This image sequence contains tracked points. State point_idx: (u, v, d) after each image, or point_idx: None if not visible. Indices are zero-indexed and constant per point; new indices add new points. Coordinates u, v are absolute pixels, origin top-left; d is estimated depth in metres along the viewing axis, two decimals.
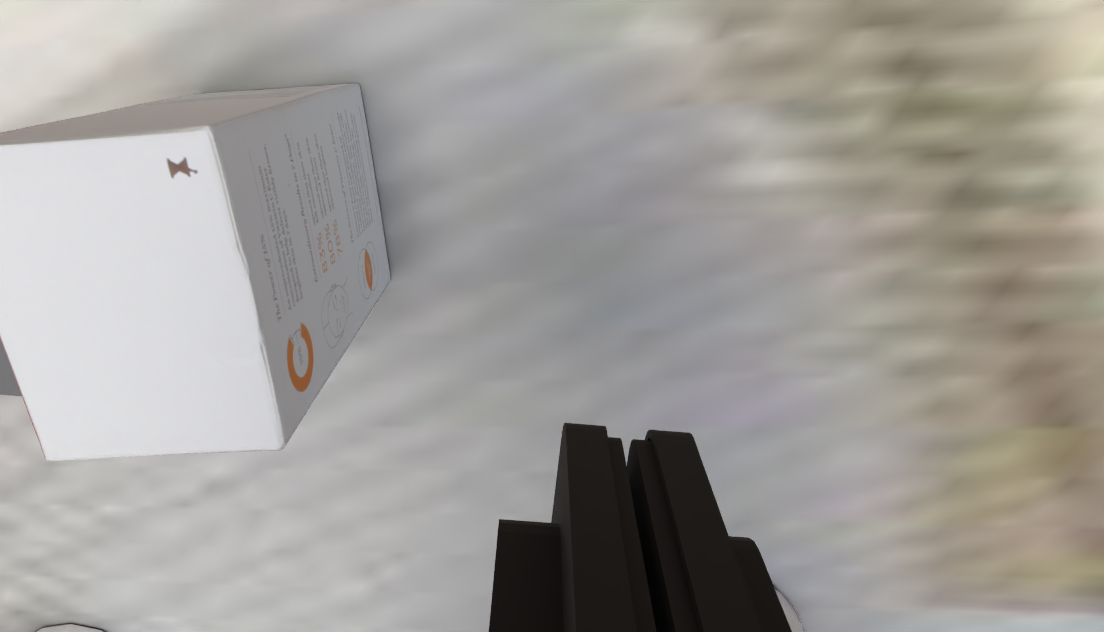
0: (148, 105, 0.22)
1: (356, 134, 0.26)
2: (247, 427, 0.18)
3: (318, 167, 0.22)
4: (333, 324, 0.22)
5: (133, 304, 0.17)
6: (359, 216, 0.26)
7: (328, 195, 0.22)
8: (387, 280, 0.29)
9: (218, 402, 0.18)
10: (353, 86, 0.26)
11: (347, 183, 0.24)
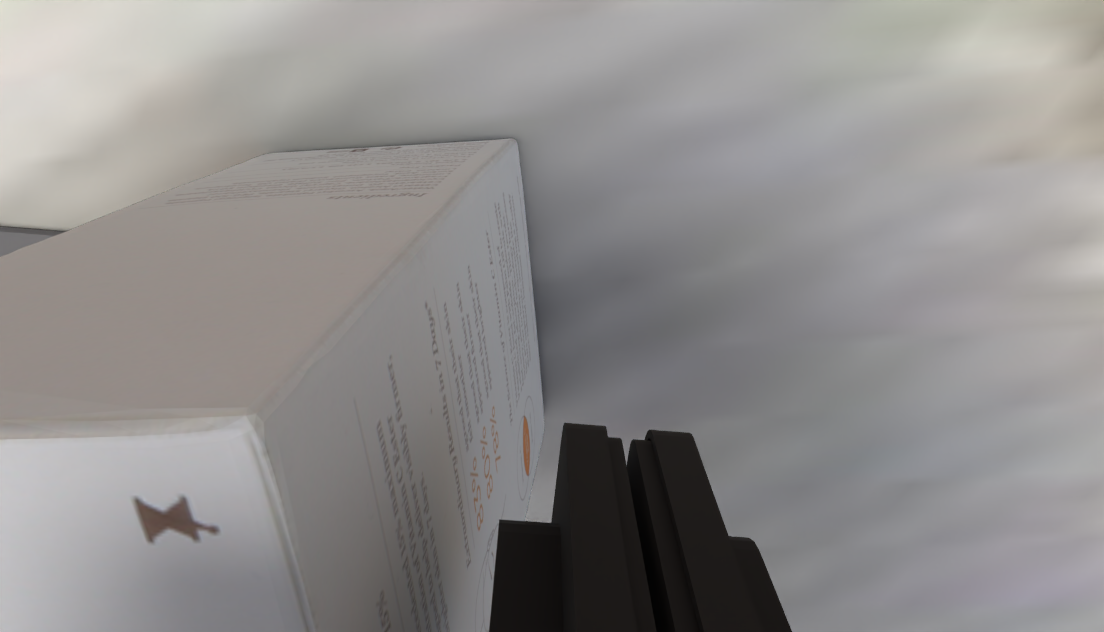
0: (172, 204, 0.12)
1: (514, 227, 0.16)
2: None
3: (473, 327, 0.12)
4: (489, 612, 0.12)
5: None
6: (518, 366, 0.15)
7: (484, 371, 0.12)
8: (542, 435, 0.19)
9: None
10: (510, 146, 0.16)
11: (506, 323, 0.14)
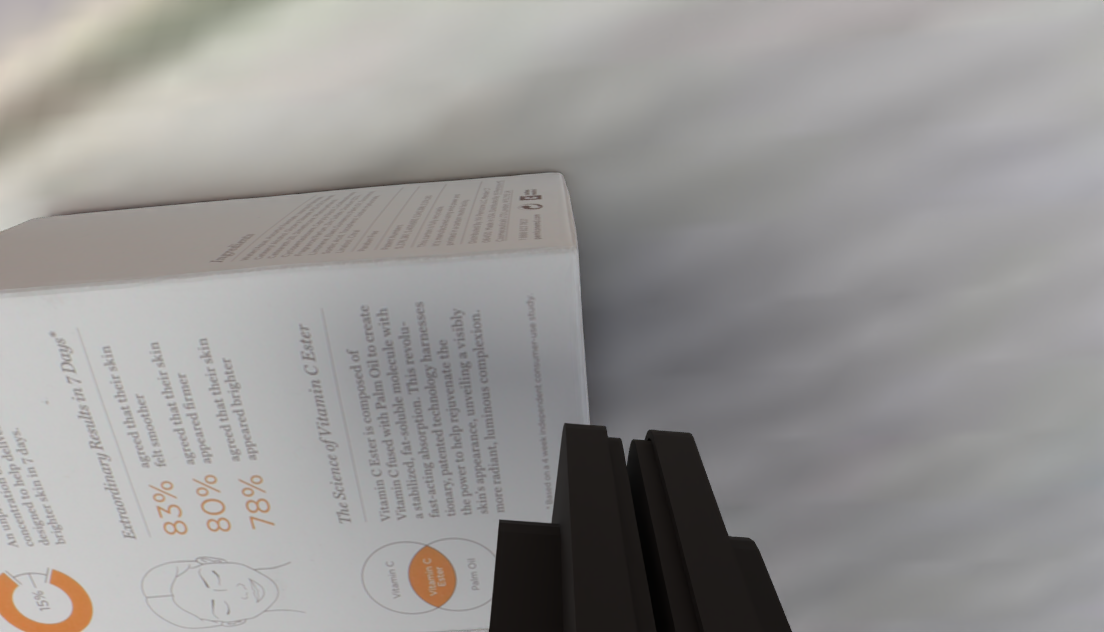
0: (312, 199, 0.16)
1: (470, 350, 0.12)
2: None
3: (200, 391, 0.12)
4: (192, 602, 0.14)
5: None
6: (410, 489, 0.13)
7: (231, 437, 0.13)
8: None
9: None
10: (523, 255, 0.12)
11: (356, 430, 0.13)
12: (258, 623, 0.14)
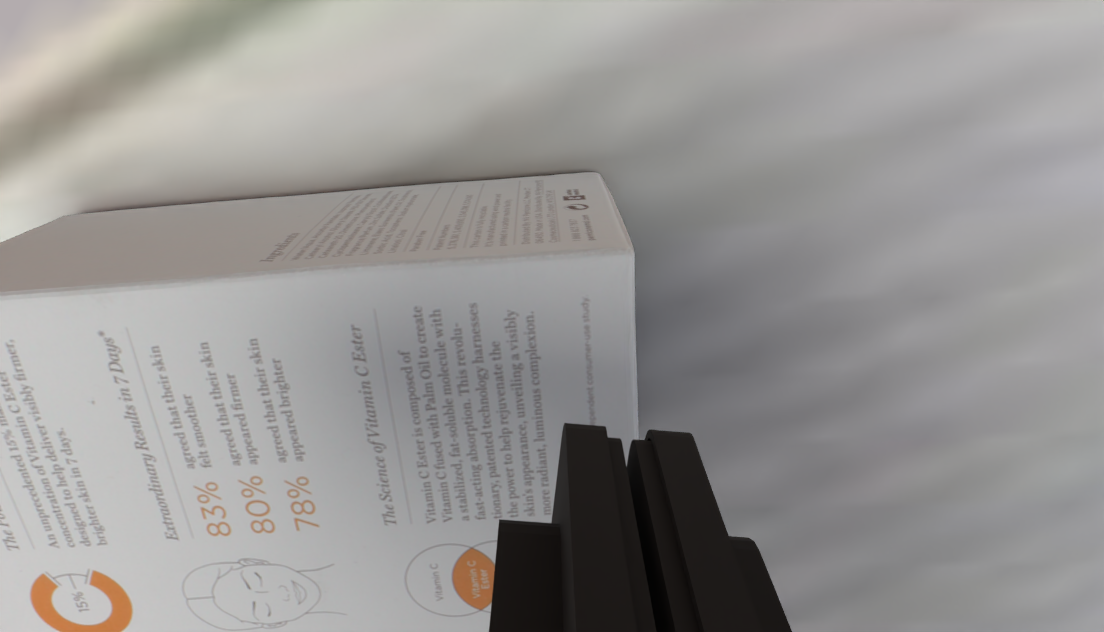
0: (350, 197, 0.16)
1: (522, 352, 0.12)
2: None
3: (248, 391, 0.12)
4: (233, 604, 0.14)
5: None
6: (457, 491, 0.13)
7: (278, 438, 0.13)
8: None
9: None
10: (580, 256, 0.11)
11: (405, 432, 0.13)
12: (299, 625, 0.14)
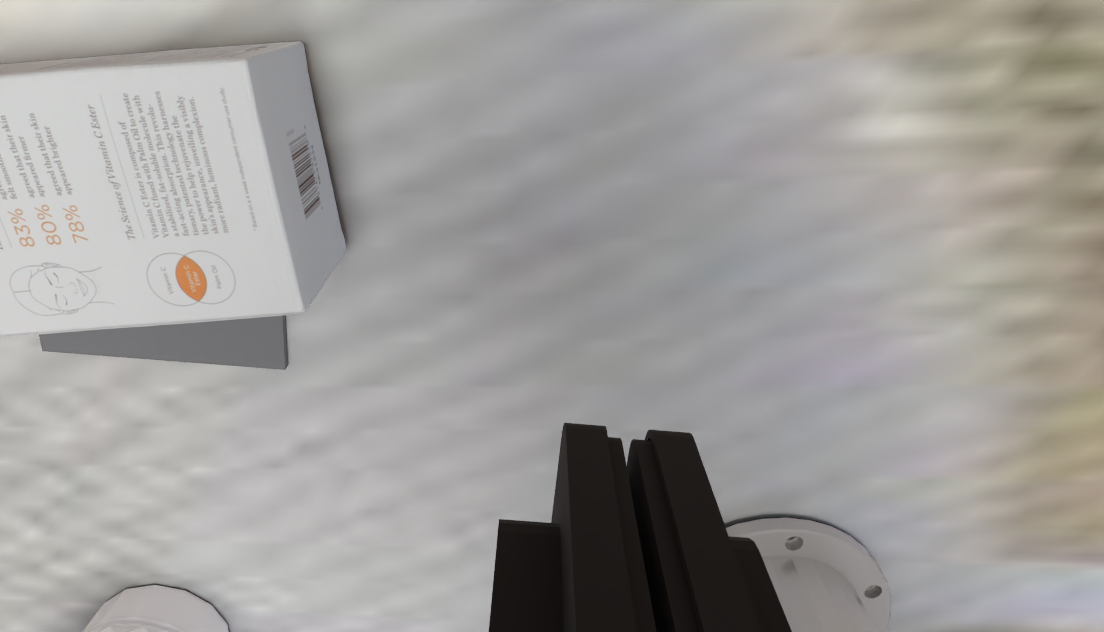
0: None
1: (191, 122, 0.21)
2: None
3: (32, 147, 0.21)
4: (43, 296, 0.23)
5: None
6: (168, 216, 0.22)
7: (55, 179, 0.21)
8: (279, 309, 0.23)
9: None
10: (214, 62, 0.20)
11: (130, 175, 0.21)
12: (86, 311, 0.23)
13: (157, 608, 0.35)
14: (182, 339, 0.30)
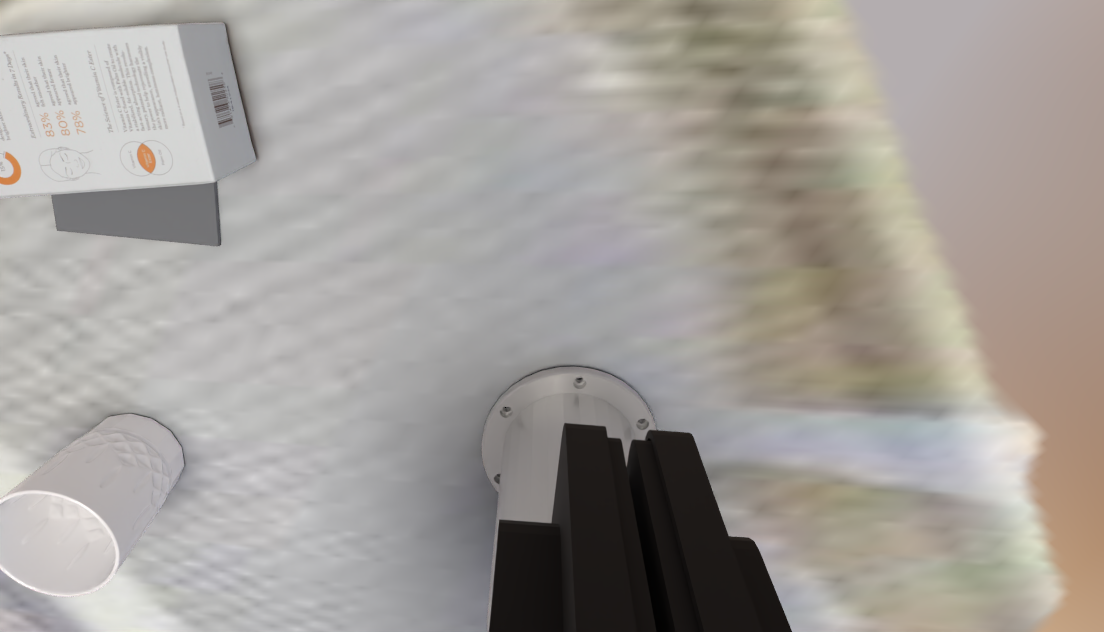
0: None
1: (145, 61, 0.36)
2: None
3: (55, 75, 0.36)
4: (58, 168, 0.38)
5: None
6: (132, 118, 0.37)
7: (67, 94, 0.37)
8: (199, 178, 0.38)
9: None
10: (159, 26, 0.35)
11: (110, 92, 0.37)
12: (83, 179, 0.38)
13: (131, 425, 0.50)
14: (149, 223, 0.46)
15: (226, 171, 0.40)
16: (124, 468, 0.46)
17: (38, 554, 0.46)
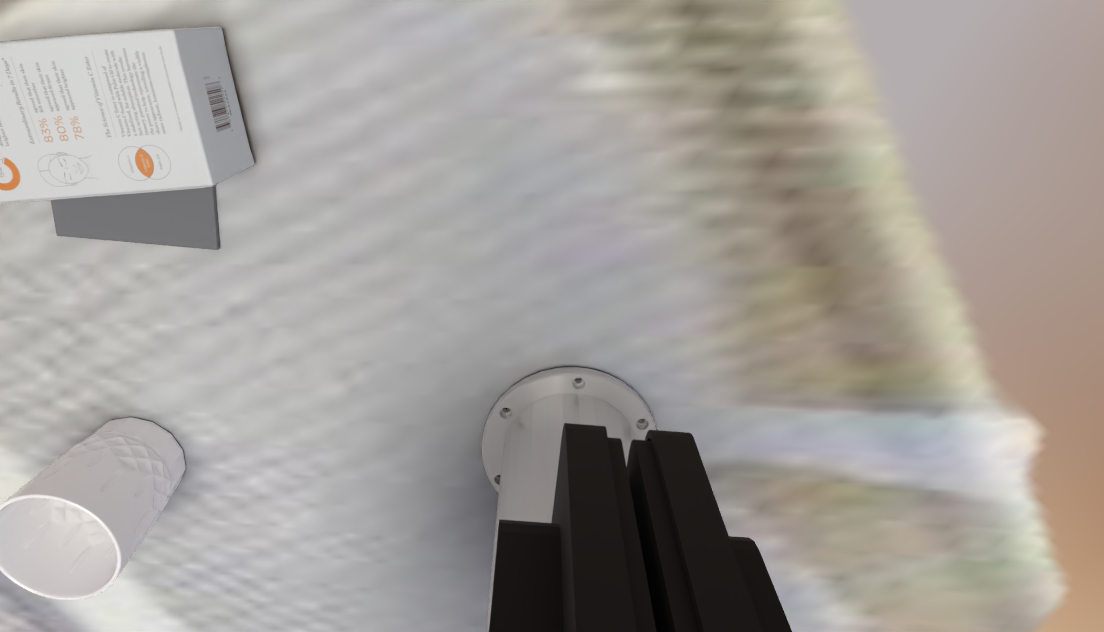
0: None
1: (143, 66, 0.36)
2: None
3: (53, 81, 0.36)
4: (57, 173, 0.38)
5: None
6: (130, 123, 0.37)
7: (65, 100, 0.37)
8: (197, 183, 0.38)
9: None
10: (156, 31, 0.36)
11: (108, 98, 0.37)
12: (82, 184, 0.38)
13: (132, 429, 0.50)
14: (148, 227, 0.46)
15: (224, 175, 0.40)
16: (125, 472, 0.46)
17: (40, 557, 0.46)
